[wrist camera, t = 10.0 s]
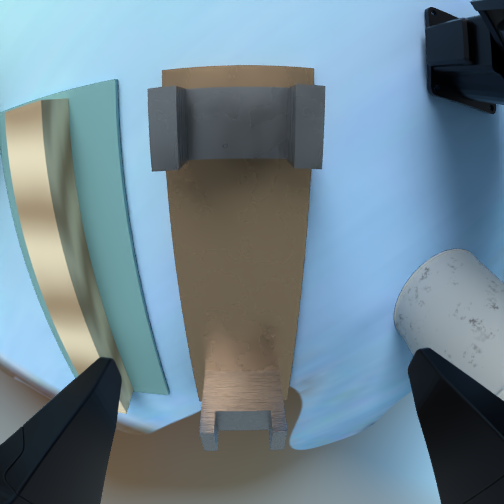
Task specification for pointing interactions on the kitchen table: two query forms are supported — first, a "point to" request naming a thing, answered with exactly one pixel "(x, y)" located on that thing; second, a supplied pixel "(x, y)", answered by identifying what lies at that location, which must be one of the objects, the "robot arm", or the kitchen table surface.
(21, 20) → the kitchen table surface
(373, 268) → the kitchen table surface
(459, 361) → the grey stone cylinder
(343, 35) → the kitchen table surface
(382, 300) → the kitchen table surface
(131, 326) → the mat
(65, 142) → the rail
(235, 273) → the bracketed wooden plank
